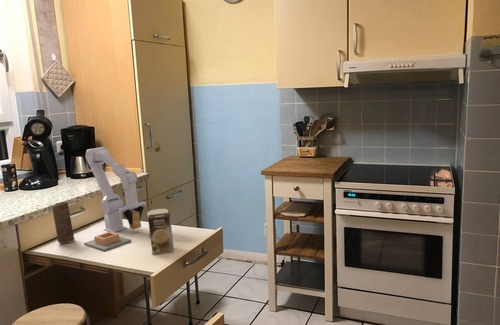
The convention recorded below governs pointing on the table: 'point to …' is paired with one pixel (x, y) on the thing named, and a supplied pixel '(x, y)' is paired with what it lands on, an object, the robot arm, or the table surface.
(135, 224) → the oak peg
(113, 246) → the collar board
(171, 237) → the coffee box
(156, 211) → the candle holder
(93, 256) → the table surface
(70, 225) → the brown tall block
